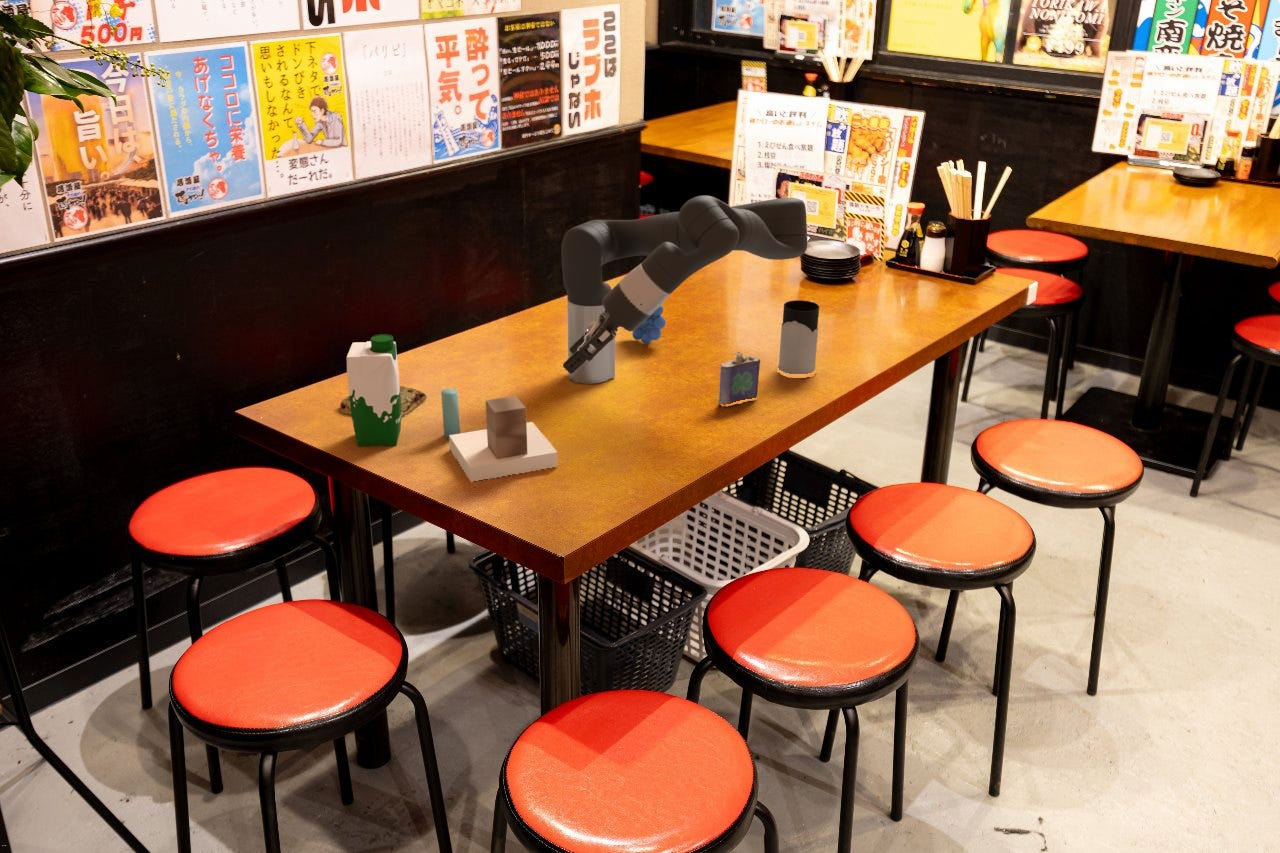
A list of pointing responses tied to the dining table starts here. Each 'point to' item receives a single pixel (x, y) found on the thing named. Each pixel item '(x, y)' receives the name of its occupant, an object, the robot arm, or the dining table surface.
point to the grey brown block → (506, 427)
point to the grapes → (650, 327)
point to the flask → (739, 379)
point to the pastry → (408, 401)
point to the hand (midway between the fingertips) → (570, 361)
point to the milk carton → (374, 391)
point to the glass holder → (799, 337)
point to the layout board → (484, 464)
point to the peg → (450, 412)
